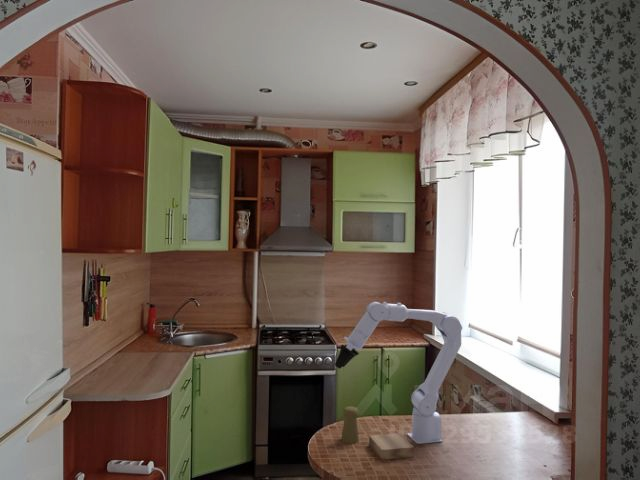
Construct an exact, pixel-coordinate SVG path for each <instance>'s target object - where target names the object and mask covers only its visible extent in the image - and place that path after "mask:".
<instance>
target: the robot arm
mask: <svg viewBox="0 0 640 480" xmlns="http://www.w3.org/2000/svg"><path fill="white" fill-rule="evenodd" d="M407 319H411V320H412V319H413V320H419V321H427V322H430V323H432V324H434V326H435V328H436V329H437V330H438V331H439V333H440V335H441V337H442V339H443V344H442V346H441V349H440V351H439V352H438V354H437V356H436V358H435V360H434V362H433V364H432V366H431V368H430V370H429V372H428V374H427V376H426V378H425V380H424V381H423V383H421V384H419V386H418V387H417V389H415V390H414V391H413V392H412V394H411V396H410V397H411V398H410V401H411V403H412V405H413V408H412V417H411V418H412V419H411V420H412V421H411V422H412V423H411V432H408V433H407V436H408V437H409V438H410V439H411V440H412V441H413V442H415V443H416V444H418V445H419V444H430V443H440V442H441V443H442V442H443V440H442V419H441V416H440V414H439V412H438V411H436V410H437V403H438V400H439V390H440V388H441V387H442V384H443V382H444V380H445V379H446V376H447V375H448V373H449V370H450V369H451V367H452V364H453V362H454V360H455V358H456V356H457V354H458V353H459V351H460V348H461V347H462V330H463V326H462V324H461V322H460V320H459V318H457V316H453V315H450V314H449V313H446V312H441V311H437V310H434V309H433V310H432V309H416V308H415V309H413V308H407V307H406V305H404V304H402V303H401V302H396V303H388V302H386V301H383V302H382V303H380V302H378V301H373V302H371V303H370V304H367V306H366V311H365V312H364V314H363V316H361V318H360V320H359V321H358V323H357V324H356V326H355V327H354V329H353V330H352V331H351V332H350V334H349V336H348V337H346V336H344V337H343V340H345V342H346V343H347V344H346V343H345V344H343V343H342V344H341V345H340V349H339V354H338V357H337V358H336V360H335V363H334V366H335V367H336V368H338V369H341V368H344V367H345V366H346V365H348V363H349V362H350V361H352V359H353V358H355V357H357V356H358V355H359V354H360V352H361V351H362V349H363V347H364V345H365V344H366V343H367V341H368V339H369V338H370V337H371V335H372V334H373V333H374V331H375V329H376V328H377V326H378V324H379V323H380V322H382V321H390V322H391V321H392V322H401V323H402V322H404V321H405V320H407Z"/></svg>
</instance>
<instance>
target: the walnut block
mask: <svg viewBox="0 0 640 480" xmlns="http://www.w3.org/2000/svg"><path fill="white" fill-rule="evenodd" d="M368 446H370V448H371V449H372V450H373V451H374V452H375V454H376V455H377V456H378V457H379V459H380V460H391V459H393V460H395V459H400V458H401V459H403V458H412V457H413V458H414V457H415V446H414V445H413V444H412V443H411V442H409V440H408V439H406V437H404V435H402V434H401V432H398V433H388V434H387V433H386V434H375V435H368Z"/></svg>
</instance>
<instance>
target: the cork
mask: <svg viewBox="0 0 640 480" xmlns="http://www.w3.org/2000/svg"><path fill="white" fill-rule="evenodd" d="M342 412H343V413H342V414H343V417H344V420H343V425H342V431H341V438H340V440H341V442H343V443H344V444H348V445H349V444H357V443H359V441H360V438H359V428H358V419H357V418H358V417H359V410H358V408H357V407H355V406H346V407H344V409H343V410H342Z"/></svg>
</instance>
